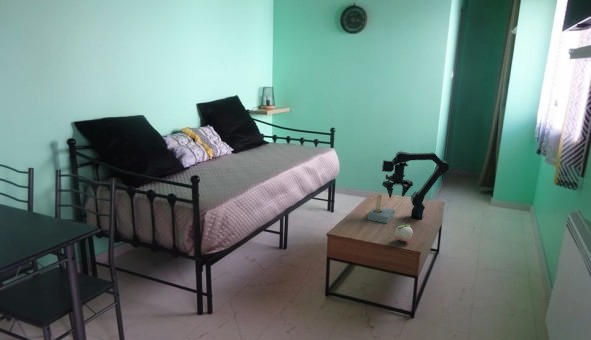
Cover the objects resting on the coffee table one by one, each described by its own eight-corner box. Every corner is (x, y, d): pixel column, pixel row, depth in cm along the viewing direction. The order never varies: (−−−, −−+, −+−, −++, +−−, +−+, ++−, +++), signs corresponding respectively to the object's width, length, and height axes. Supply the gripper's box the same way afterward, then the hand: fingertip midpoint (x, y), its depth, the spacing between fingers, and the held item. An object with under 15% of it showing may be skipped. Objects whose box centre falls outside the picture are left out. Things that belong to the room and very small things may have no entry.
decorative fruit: (403, 246, 206) (405, 228, 204) (391, 240, 213) (393, 223, 210) (415, 242, 212) (417, 224, 210) (403, 237, 218) (405, 219, 216)
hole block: (394, 215, 251) (395, 209, 250) (387, 223, 237) (387, 217, 236) (375, 211, 256) (376, 205, 255) (367, 219, 243) (368, 213, 242)
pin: (380, 217, 247) (382, 195, 243) (378, 218, 244) (380, 196, 241) (375, 216, 248) (377, 194, 245) (373, 217, 245) (375, 196, 242)
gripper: (403, 168, 255) (401, 192, 259) (378, 170, 248) (376, 194, 252) (414, 173, 245) (412, 197, 249) (388, 174, 238) (386, 199, 242)
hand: (396, 197), depth 248 cm, fingers open, 9 cm apart
